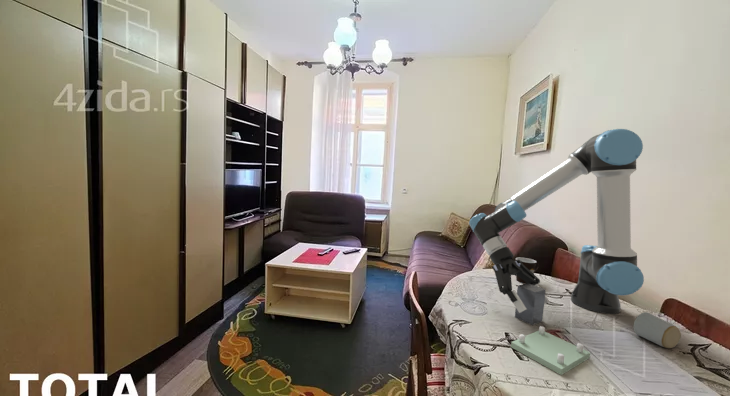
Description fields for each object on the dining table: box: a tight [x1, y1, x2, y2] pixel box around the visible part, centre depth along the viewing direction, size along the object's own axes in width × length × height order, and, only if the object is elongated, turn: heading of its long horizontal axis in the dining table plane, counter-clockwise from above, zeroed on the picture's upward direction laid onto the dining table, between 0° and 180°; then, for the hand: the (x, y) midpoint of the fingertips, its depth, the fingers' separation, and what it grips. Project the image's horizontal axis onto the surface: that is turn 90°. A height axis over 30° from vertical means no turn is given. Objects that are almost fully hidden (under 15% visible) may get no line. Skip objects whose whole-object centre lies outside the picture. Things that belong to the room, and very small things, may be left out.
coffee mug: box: [515, 257, 540, 284], centre depth 138 cm, size 12×9×10 cm
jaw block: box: [514, 283, 547, 326], centre depth 100 cm, size 6×6×11 cm
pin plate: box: [510, 325, 591, 376], centre depth 81 cm, size 15×13×4 cm
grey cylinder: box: [633, 311, 682, 349], centre depth 90 cm, size 11×8×8 cm
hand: (535, 307), depth 99 cm, fingers open, 13 cm apart
